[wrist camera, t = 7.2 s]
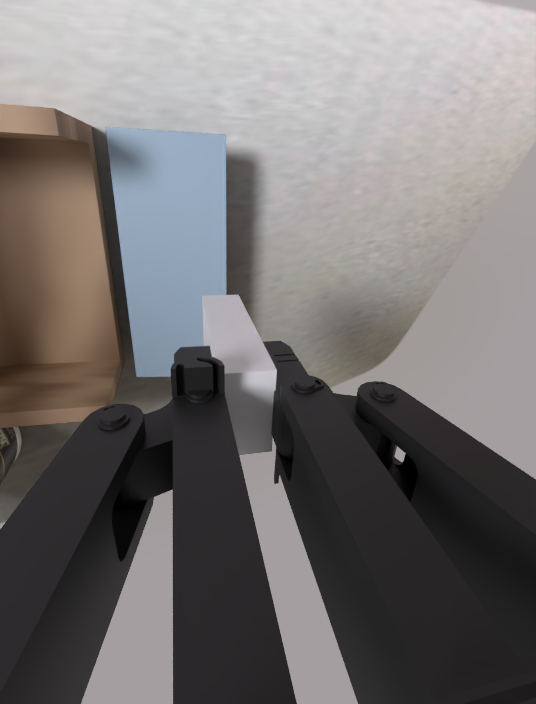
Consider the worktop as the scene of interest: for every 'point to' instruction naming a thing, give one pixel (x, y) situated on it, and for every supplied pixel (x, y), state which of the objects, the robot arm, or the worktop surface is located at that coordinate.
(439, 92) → the worktop surface
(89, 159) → the box
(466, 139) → the worktop surface
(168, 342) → the panel
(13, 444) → the coffee can
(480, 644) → the robot arm
